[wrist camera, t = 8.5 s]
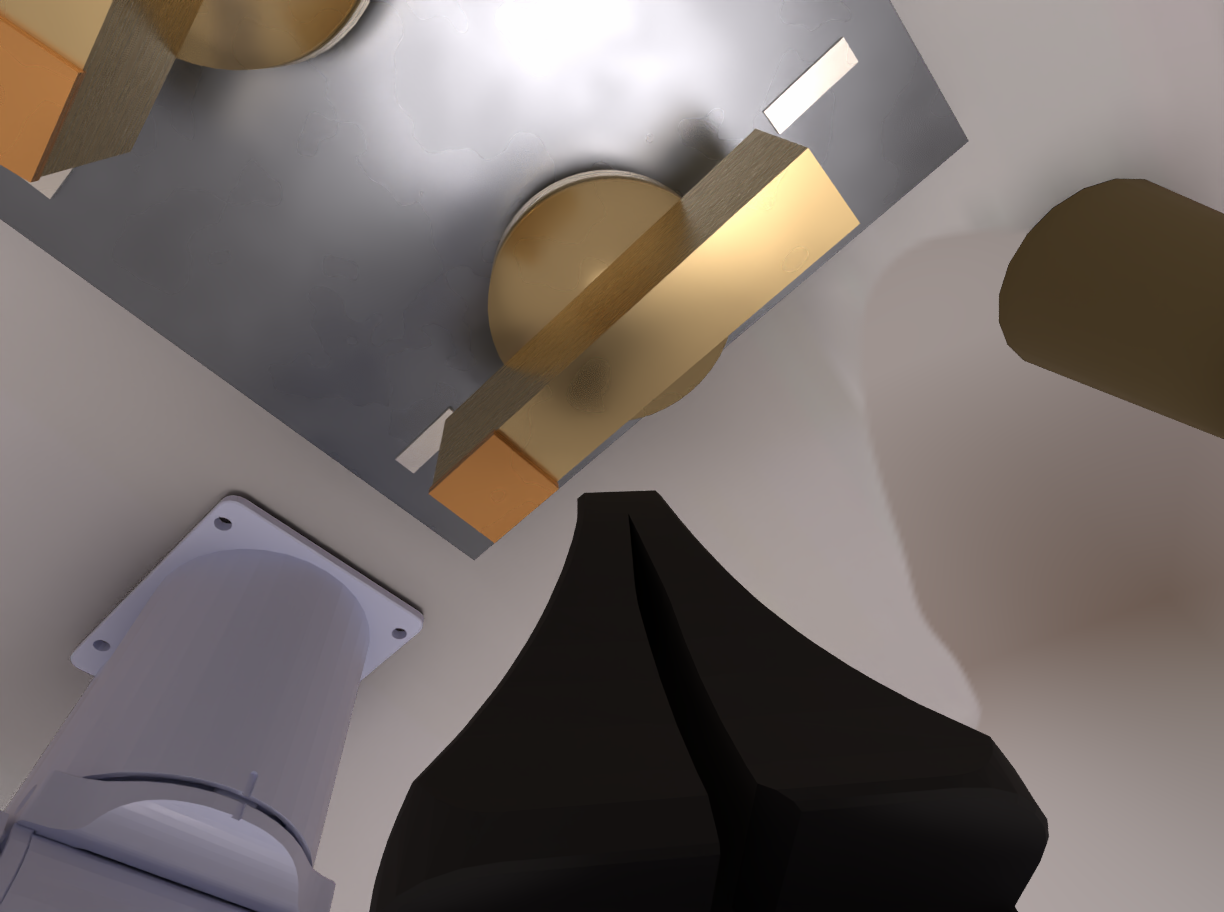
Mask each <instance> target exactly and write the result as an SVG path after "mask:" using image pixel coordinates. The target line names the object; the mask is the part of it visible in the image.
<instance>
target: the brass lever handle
mask: <svg viewBox="0 0 1224 912" xmlns="http://www.w3.org/2000/svg"><path fill="white" fill-rule="evenodd" d="M369 2H370V0H0V165H2V166H3V167H5V168H7V169H8V170H10V171H12V172H13V173H15V174H17V175H18V176H20V177H22V178H23V179H25V180H27V181H28V182H30V183H31V182H35V181H38V180H39V179H40V177H42V176H46V175H49V174H53V173H56V172H60V171H64V170H67V169H71V168H74V167H78V166H81V165H85V164H89V163H92V162H96V161H99V160H103V159H107V158H110V157H114V156H117V155H121V154H124V153H128V152H131V150H132V148H133V146H134V144H135V142H136V139H137V137H138V135H139V133H140V131H141V129H142V127H143V125H144V123H145V121H146V119H147V117H148V115H149V113H150V110H151V108H152V106H153V104H154V102H155V100H156V98H157V96H158V94H159V92H160V90H161V88H162V86H163V84H164V81H165V79H166V77H167V75H168V73H169V71H170V69H171V67H172V65H173V63H174V61H175V59H176V58H178V59H181V60H184V61H186V62H189V63H193V64H197V65H201V66H205V67H210V68H215V69H225V70H255V69H265V68H275V67H282V66H287V65H292V64H297V63H300V62H303V61H306V60H308V59H311V58H314V57H316V56H317V55H319V54H321V53H323V52H325V51H326V50H328V49H330V48H331V47H332V46H334V45H335V44H336V43H337V42H339V41H340V40H341V39H342V38H344V37H345V35H346V34H347V33H348V32H349V31H350V30H351V29H352V28H353V27H354V26H355V25H356V23H357V22H358V20H359V19H360V17H361V16H362V14H363V13H364V11H365V10H366V8H367V6H368V4H369Z"/></svg>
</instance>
